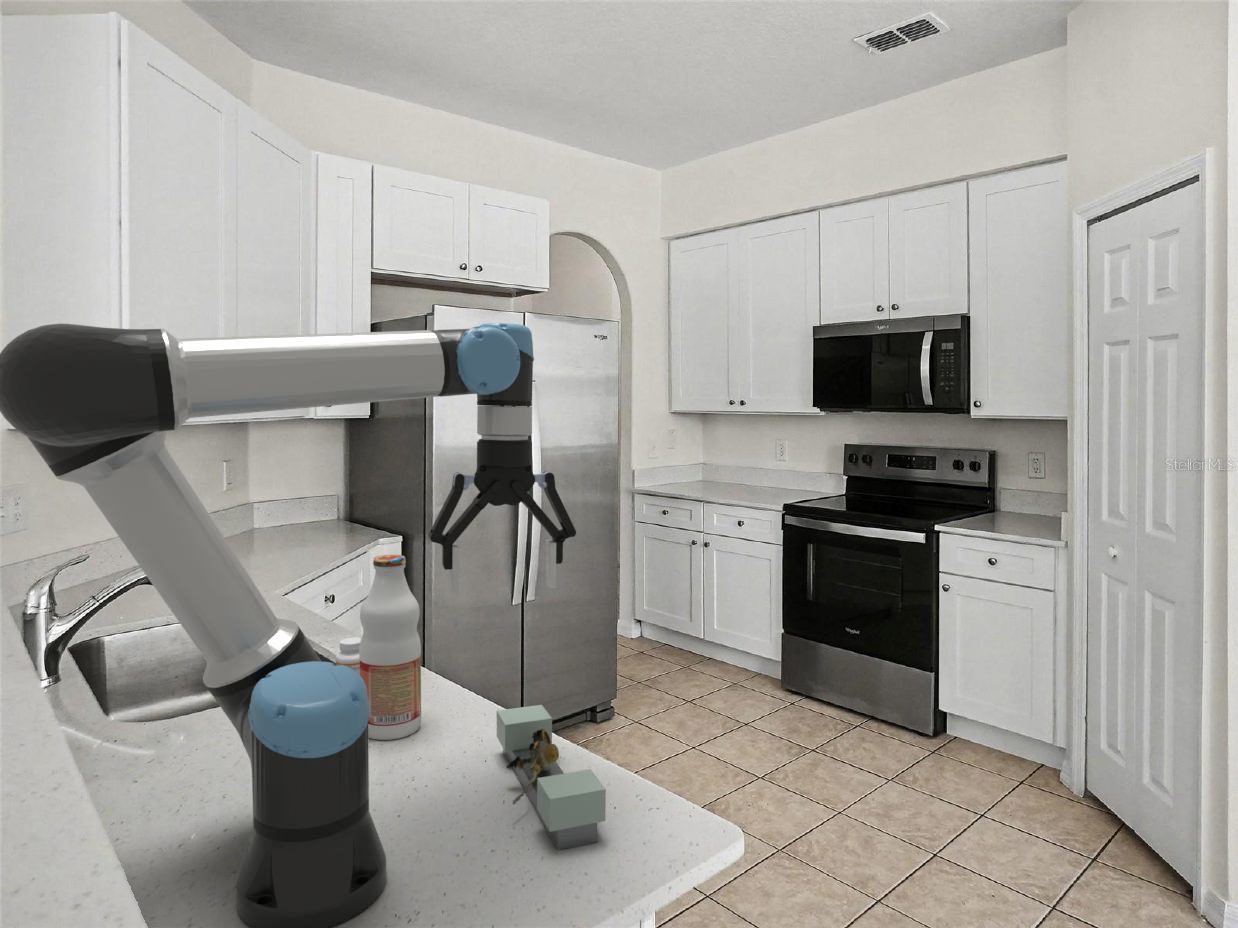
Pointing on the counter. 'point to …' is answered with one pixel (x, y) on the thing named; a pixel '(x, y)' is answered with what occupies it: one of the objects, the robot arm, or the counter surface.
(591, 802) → the mounted modules
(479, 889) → the counter surface
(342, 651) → the supplement bottle
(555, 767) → the rail
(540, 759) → the regulator
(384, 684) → the fruit juice
